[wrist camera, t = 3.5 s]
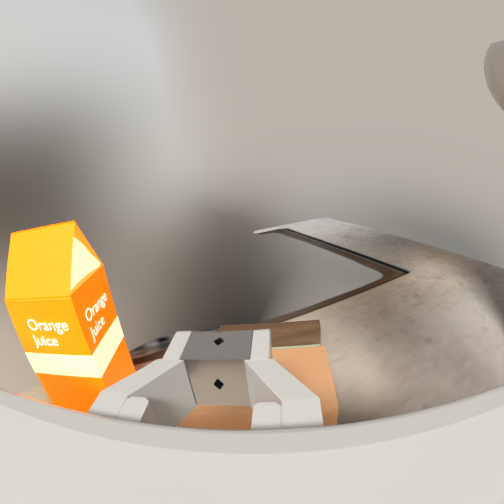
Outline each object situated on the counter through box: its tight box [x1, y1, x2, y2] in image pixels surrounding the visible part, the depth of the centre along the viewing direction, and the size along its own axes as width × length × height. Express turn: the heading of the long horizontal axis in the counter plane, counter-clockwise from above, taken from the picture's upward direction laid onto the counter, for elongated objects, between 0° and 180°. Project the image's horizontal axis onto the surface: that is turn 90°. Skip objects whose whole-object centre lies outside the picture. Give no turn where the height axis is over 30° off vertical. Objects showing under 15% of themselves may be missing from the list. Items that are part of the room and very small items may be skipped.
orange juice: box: [4, 221, 136, 413], centre depth 27 cm, size 8×9×20 cm
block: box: [178, 346, 339, 430], centre depth 19 cm, size 6×9×10 cm, turn 86°
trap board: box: [220, 320, 320, 347], centre depth 27 cm, size 22×12×4 cm, turn 176°
